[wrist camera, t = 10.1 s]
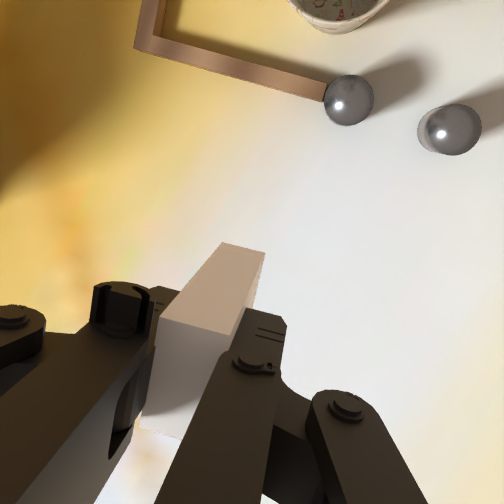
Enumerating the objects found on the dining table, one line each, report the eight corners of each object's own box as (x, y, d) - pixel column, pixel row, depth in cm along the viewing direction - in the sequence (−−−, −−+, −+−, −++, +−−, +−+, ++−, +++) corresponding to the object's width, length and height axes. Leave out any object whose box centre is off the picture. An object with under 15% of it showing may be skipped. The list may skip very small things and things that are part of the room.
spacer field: (319, 119, 41) (318, 118, 36) (395, -130, 36) (405, -171, 31) (555, 186, 39) (586, 194, 34) (670, -65, 34) (725, -97, 29)
